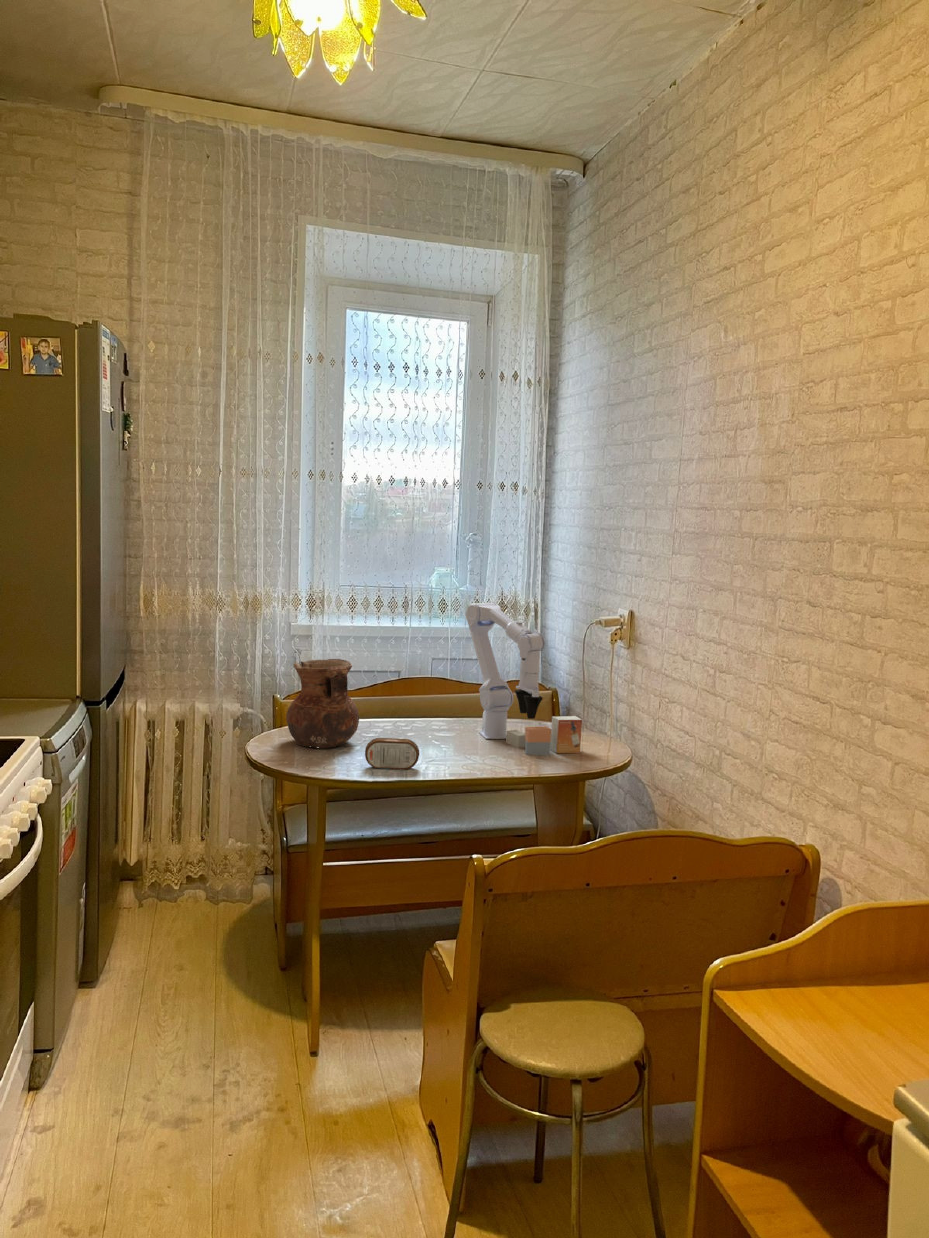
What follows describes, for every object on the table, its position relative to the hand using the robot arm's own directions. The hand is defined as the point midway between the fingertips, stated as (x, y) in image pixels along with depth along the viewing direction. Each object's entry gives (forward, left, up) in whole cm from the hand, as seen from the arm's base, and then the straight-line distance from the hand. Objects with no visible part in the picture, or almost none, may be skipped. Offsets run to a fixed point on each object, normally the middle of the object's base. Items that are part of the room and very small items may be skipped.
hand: (527, 715), depth 284 cm
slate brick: (+8, +1, -10) cm, 13 cm away
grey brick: (-3, -2, -10) cm, 11 cm away
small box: (+6, +11, -10) cm, 16 cm away
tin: (+21, -46, -10) cm, 51 cm away
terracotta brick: (+8, +1, -6) cm, 10 cm away
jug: (-9, -62, -10) cm, 63 cm away
